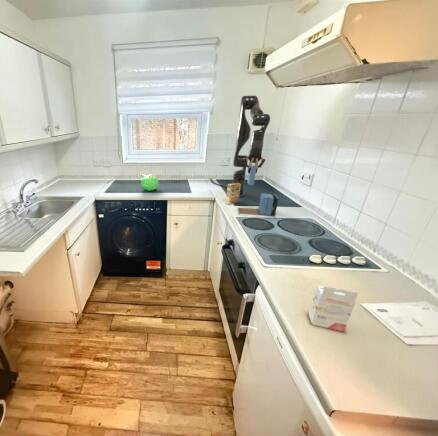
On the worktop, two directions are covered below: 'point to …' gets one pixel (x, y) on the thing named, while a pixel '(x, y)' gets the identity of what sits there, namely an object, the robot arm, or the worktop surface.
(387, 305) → the worktop surface
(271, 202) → the shelved book
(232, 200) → the candy box
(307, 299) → the worktop surface
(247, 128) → the robot arm
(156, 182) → the green rounded lump
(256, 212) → the book rack
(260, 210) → the shelved book
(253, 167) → the blue book
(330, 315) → the ink cartridge box
